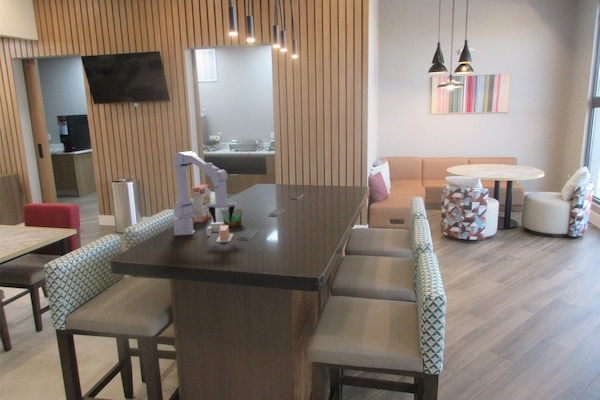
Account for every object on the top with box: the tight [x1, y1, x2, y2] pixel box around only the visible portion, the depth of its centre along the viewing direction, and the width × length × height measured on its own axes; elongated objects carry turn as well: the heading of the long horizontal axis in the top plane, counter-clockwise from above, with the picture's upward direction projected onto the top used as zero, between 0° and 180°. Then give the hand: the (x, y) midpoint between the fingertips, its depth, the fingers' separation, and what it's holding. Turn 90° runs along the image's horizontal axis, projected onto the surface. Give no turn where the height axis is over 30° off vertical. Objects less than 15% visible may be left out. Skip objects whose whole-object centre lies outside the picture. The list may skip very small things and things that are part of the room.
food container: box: [220, 207, 244, 229], centre depth 239 cm, size 12×6×10 cm, turn 105°
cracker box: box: [191, 183, 213, 223], centre depth 258 cm, size 14×6×21 cm, turn 168°
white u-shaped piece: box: [206, 221, 224, 237], centre depth 229 cm, size 7×13×4 cm, turn 2°
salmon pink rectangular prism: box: [220, 225, 230, 240], centre depth 216 cm, size 3×10×5 cm, turn 2°
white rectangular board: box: [215, 233, 234, 243], centre depth 216 cm, size 7×13×1 cm, turn 2°
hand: (222, 221), depth 212 cm, fingers open, 7 cm apart
